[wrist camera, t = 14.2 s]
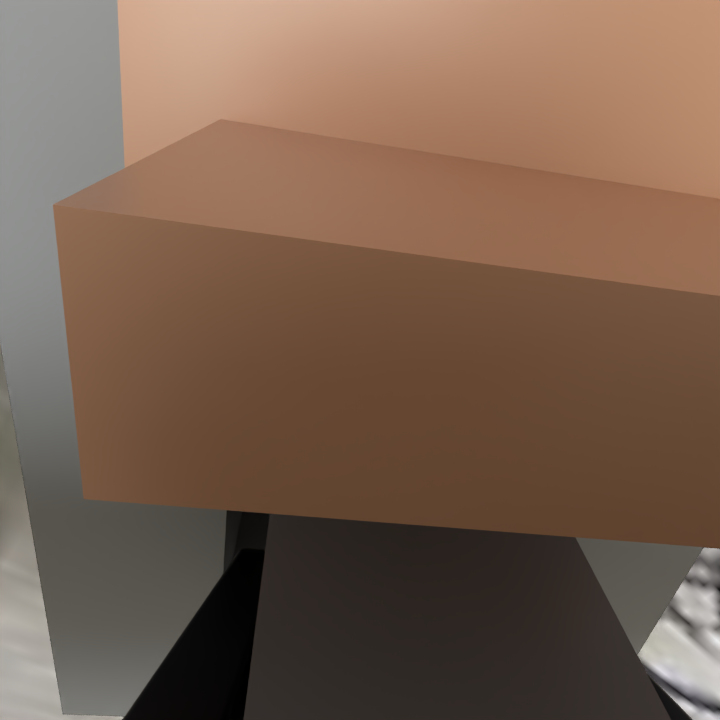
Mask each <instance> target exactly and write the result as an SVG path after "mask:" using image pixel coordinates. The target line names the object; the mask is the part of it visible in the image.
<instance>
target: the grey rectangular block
mask: <svg viewBox="0 0 720 720" xmlns="http://www.w3.org/2000/svg"><path fill="white" fill-rule="evenodd" d="M244 720H671V719H670V717H669V715H668V713H667V711H666V709H665V707H664V705H663V703H662V701H661V700H660V698H659V696H658V694H657V692H656V690H655V688H654V686H653V684H652V682H651V681H650V679H649V677H648V675H647V673H646V671H645V669H644V667H643V665H642V663H641V661H640V660H639V658H638V656H637V654H636V652H635V650H634V648H633V646H632V644H631V642H630V641H629V639H628V637H627V635H626V633H625V631H624V629H623V627H622V625H621V623H620V621H619V620H618V618H617V616H616V614H615V612H614V610H613V608H612V606H611V604H610V602H609V601H608V599H607V597H606V595H605V593H604V591H603V589H602V587H601V585H600V583H599V581H598V580H597V578H596V576H595V574H594V572H593V570H592V568H591V566H590V564H589V562H588V561H587V559H586V557H585V555H584V553H583V551H582V549H581V547H580V545H579V543H578V541H577V540H576V538H575V537H565V536H552V535H539V534H526V533H514V532H501V531H488V530H475V529H462V528H449V527H436V526H424V525H411V524H398V523H385V522H372V521H359V520H346V519H333V518H321V517H308V516H295V515H282V514H270V516H269V524H268V532H267V540H266V548H265V556H264V564H263V572H262V579H261V587H260V595H259V603H258V611H257V619H256V627H255V635H254V642H253V650H252V658H251V666H250V674H249V682H248V690H247V697H246V705H245V713H244Z"/></svg>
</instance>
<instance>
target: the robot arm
mask: <svg viewBox="0 0 720 720" xmlns="http://www.w3.org/2000/svg"><path fill="white" fill-rule="evenodd" d="M264 556H265V549H257V548H242V549H240V550H239V551H238V553H237V554H236V555H235V557H234V558H233V560H232V561H231V563H230V564H229V566H228V567H227V569H226V570H225V571H224V573H223V574H222V576H221V577H220V579H219V580H218V582H217V583H216V584H215V586H214V587H213V589H212V590H211V592H210V593H209V595H208V596H207V598H206V599H205V600H204V602H203V603H202V605H201V606H200V608H199V609H198V611H197V612H196V613H195V615H194V616H193V618H192V619H191V621H190V622H189V624H188V625H187V627H186V628H185V629H184V631H183V632H182V634H181V635H180V637H179V638H178V640H177V641H176V642H175V644H174V645H173V647H172V648H171V650H170V651H169V653H168V654H167V656H166V657H165V658H164V660H163V661H162V663H161V664H160V666H159V667H158V669H157V670H156V671H155V673H154V674H153V676H152V677H151V679H150V680H149V682H148V683H147V685H146V686H145V687H144V689H143V690H142V692H141V693H140V695H139V696H138V698H137V699H136V700H135V702H134V703H133V705H132V706H131V708H130V709H129V711H128V712H127V714H126V715H125V716H124V718H123V719H122V720H244V713H245V705H246V697H247V690H248V682H249V674H250V666H251V658H252V650H253V642H254V635H255V627H256V619H257V611H258V603H259V595H260V587H261V579H262V572H263V564H264ZM647 675H648V674H647ZM648 677H649V679H650V681H651V682H652V684H653V686H654V688H655V690H656V692H657V694H658V696H659V698H660V700H661V701H662V703H663V705H664V707H665V709H666V711H667V713H668V715H669V717H670V719H671V720H692V718H691V717H690V716H689V715H688V714H687V713H686V712H685V711H684V710H683V709H682V708H681V707H680V706H679V705H678V704H677V703H676V702H675V701H674V700H673V699H672V698H671V697H670V696H669V695H668V694H667V693H666V692H665V691H664V690H663V689H662V688H661V687H660V686H659V685H658V684H657V683H656V682H655V681H654V680H653V679H652V678H651V677H650V676H649V675H648Z"/></svg>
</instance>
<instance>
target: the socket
mask: <svg viewBox="0 0 720 720" xmlns="http://www.w3.org/2000/svg"><path fill="white" fill-rule="evenodd" d="M124 168H125V165H124V142H123V119H122V96H121V73H120V50H119V27H118V4H117V0H0V344H1V350H2V356H3V362H4V368H5V374H6V380H7V386H8V392H9V398H10V404H11V410H12V415H13V421H14V427H15V433H16V439H17V445H18V451H19V457H20V463H21V469H22V475H23V481H24V487H25V493H26V499H27V504H28V510H29V516H30V522H31V528H32V534H33V540H34V546H35V552H36V558H37V564H38V570H39V576H40V582H41V588H42V593H43V599H44V605H45V611H46V617H47V623H48V629H49V635H50V641H51V647H52V653H53V659H54V665H55V671H56V677H57V682H58V688H59V694H60V700H61V706H62V712H63V714H67V715H96V716H125V715H126V714H127V712H128V711H129V709H130V708H131V706H132V705H133V703H134V702H135V700H136V699H137V698H138V696H139V695H140V693H141V692H142V690H143V689H144V687H145V686H146V685H147V683H148V682H149V680H150V679H151V677H152V676H153V674H154V673H155V671H156V670H157V669H158V667H159V666H160V664H161V663H162V661H163V660H164V658H165V657H166V656H167V654H168V653H169V651H170V650H171V648H172V647H173V645H174V644H175V642H176V641H177V640H178V638H179V637H180V635H181V634H182V632H183V631H184V629H185V628H186V627H187V625H188V624H189V622H190V621H191V619H192V618H193V616H194V615H195V613H196V612H197V611H198V609H199V608H200V606H201V605H202V603H203V602H204V600H205V599H206V598H207V596H208V595H209V593H210V592H211V590H212V589H213V587H214V586H215V584H216V583H217V582H218V580H219V579H220V577H221V576H222V574H223V573H224V571H225V570H226V569H227V567H228V566H229V564H230V563H231V561H232V560H233V558H234V557H235V555H236V554H237V553H238V551H239V550H240V549H242V548H257V549H265V548H266V540H267V532H268V524H269V516H270V514H269V513H256V512H243V511H230V510H218V509H205V508H192V507H179V506H166V505H153V504H140V503H127V502H115V501H102V500H89V499H84V497H83V488H82V478H81V469H80V459H79V450H78V440H77V431H76V421H75V412H74V402H73V393H72V383H71V374H70V364H69V355H68V345H67V336H66V326H65V317H64V307H63V298H62V288H61V279H60V269H59V260H58V250H57V240H56V231H55V221H54V212H53V204H55V203H57V202H59V201H61V200H63V199H65V198H67V197H69V196H71V195H73V194H75V193H77V192H79V191H80V190H82V189H84V188H86V187H88V186H90V185H92V184H94V183H96V182H98V181H100V180H102V179H104V178H106V177H108V176H110V175H112V174H114V173H116V172H118V171H120V170H122V169H124ZM575 538H576V540H577V541H578V543H579V545H580V547H581V549H582V551H583V553H584V555H585V557H586V559H587V561H588V562H589V564H590V566H591V568H592V570H593V572H594V574H595V576H596V578H597V580H598V581H599V583H600V585H601V587H602V589H603V591H604V593H605V595H606V597H607V599H608V601H609V602H610V604H611V606H612V608H613V610H614V612H615V614H616V616H617V618H618V620H619V621H620V623H621V625H622V627H623V629H624V631H625V633H626V635H627V637H628V639H629V641H630V642H631V644H632V646H633V648H634V650H635V652H636V654H637V655H638V653H639V651H640V650H641V648H642V646H643V645H644V643H645V642H646V640H647V638H648V637H649V635H650V633H651V632H652V630H653V629H654V627H655V625H656V624H657V622H658V620H659V619H660V617H661V616H662V614H663V612H664V611H665V609H666V608H667V606H668V604H669V603H670V601H671V599H672V598H673V596H674V595H675V593H676V591H677V590H678V588H679V586H680V585H681V583H682V582H683V580H684V578H685V577H686V575H687V574H688V572H689V570H690V569H691V567H692V565H693V564H694V562H695V561H696V559H697V557H698V556H699V554H700V552H701V551H702V549H703V548H704V547H694V546H681V545H668V544H655V543H642V542H629V541H617V540H604V539H591V538H578V537H575Z"/></svg>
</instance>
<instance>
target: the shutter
mask: <svg viewBox="0 0 720 720" xmlns="http://www.w3.org/2000/svg"><path fill="white" fill-rule="evenodd" d="M117 4H118V27H119V50H120V73H121V96H122V119H123V142H124V165H125V168H124V169H122V170H120V171H118V172H116V173H114V174H112V175H110V176H108V177H106V178H104V179H102V180H100V181H98V182H96V183H94V184H92V185H90V186H88V187H86V188H84V189H82V190H80V191H79V192H77V193H75V194H73V195H71V196H69V197H67V198H65V199H63V200H61V201H59V202H57V203H55V204H53V212H54V221H55V231H56V240H57V250H58V260H59V269H60V279H61V288H62V298H63V307H64V317H65V326H66V336H67V345H68V355H69V364H70V374H71V383H72V393H73V402H74V412H75V421H76V431H77V440H78V450H79V459H80V469H81V478H82V488H83V497H84V499H89V500H102V501H115V502H127V503H140V504H153V505H166V506H179V507H192V508H205V509H218V510H230V511H243V512H256V513H269V514H282V515H295V516H308V517H321V518H333V519H346V520H359V521H372V522H385V523H398V524H411V525H424V526H436V527H449V528H462V529H475V530H488V531H501V532H514V533H526V534H539V535H552V536H565V537H578V538H591V539H604V540H617V541H629V542H642V543H655V544H668V545H681V546H694V547H707V548H720V0H117Z"/></svg>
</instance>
